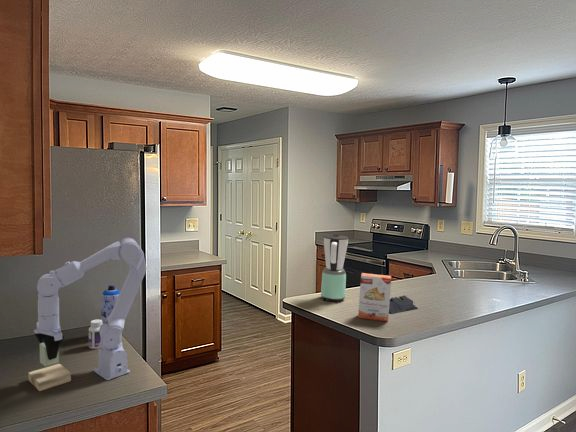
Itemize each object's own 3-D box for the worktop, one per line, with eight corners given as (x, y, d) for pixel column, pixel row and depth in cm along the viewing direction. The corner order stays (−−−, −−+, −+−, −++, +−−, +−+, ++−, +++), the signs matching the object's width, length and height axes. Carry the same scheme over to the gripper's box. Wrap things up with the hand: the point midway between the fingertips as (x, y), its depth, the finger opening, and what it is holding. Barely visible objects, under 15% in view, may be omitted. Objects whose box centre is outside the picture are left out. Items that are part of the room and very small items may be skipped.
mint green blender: (322, 293, 241) (325, 232, 238) (346, 296, 239) (349, 233, 235) (318, 303, 223) (321, 237, 219) (344, 306, 220) (347, 239, 217)
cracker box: (357, 318, 203) (360, 275, 201) (358, 314, 209) (361, 272, 206) (388, 322, 200) (391, 278, 197) (388, 318, 205) (391, 275, 203)
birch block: (70, 382, 134) (70, 372, 134) (39, 392, 127) (39, 382, 127) (59, 372, 140) (59, 363, 140) (28, 381, 133) (28, 372, 133)
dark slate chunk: (368, 306, 223) (369, 297, 222) (398, 301, 235) (398, 292, 235) (391, 315, 210) (391, 306, 210) (420, 309, 222) (421, 300, 222)
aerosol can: (97, 334, 171) (97, 285, 169) (116, 329, 177) (117, 282, 175) (105, 340, 166) (105, 289, 163) (125, 335, 171) (125, 286, 169)
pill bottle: (106, 343, 163) (106, 318, 162) (101, 349, 157) (101, 323, 156) (92, 343, 162) (92, 318, 161) (86, 349, 157) (85, 323, 156)
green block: (58, 362, 133) (58, 343, 132) (44, 366, 130) (44, 347, 129) (53, 358, 136) (53, 340, 135) (39, 362, 133) (39, 343, 132)
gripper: (25, 310, 133) (26, 352, 134) (44, 322, 124) (44, 368, 125) (49, 305, 138) (50, 346, 140) (69, 317, 129) (69, 360, 130)
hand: (49, 356), depth 133 cm, fingers closed on green block, 4 cm apart
